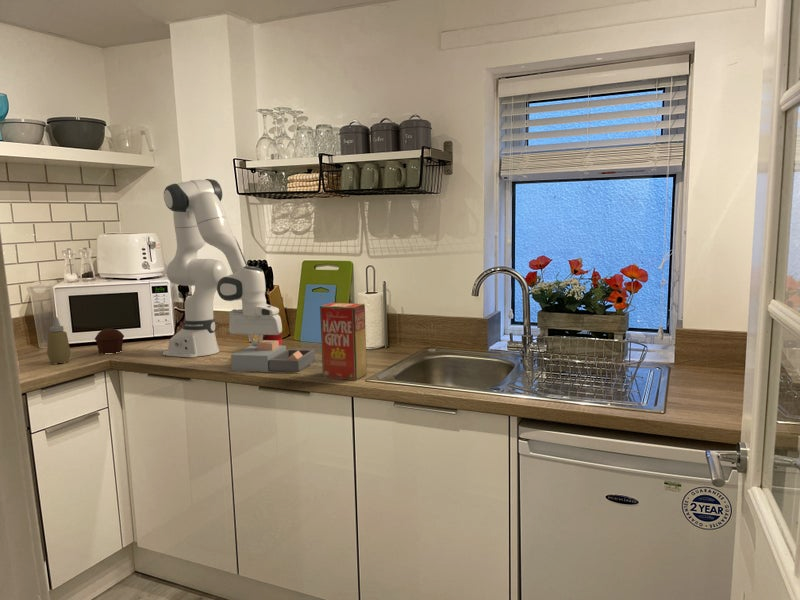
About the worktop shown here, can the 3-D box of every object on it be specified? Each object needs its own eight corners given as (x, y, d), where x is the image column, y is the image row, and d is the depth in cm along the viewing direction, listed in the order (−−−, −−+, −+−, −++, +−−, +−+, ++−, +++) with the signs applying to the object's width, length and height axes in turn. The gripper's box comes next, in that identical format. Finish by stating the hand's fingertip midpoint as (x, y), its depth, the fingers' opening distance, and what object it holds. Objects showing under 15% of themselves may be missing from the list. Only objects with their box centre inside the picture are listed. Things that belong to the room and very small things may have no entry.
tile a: (292, 353, 219) (297, 359, 219) (298, 350, 225) (302, 355, 225) (281, 364, 220) (285, 369, 220) (286, 360, 226) (291, 365, 226)
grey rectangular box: (231, 371, 223) (230, 354, 222) (252, 359, 240) (251, 344, 240) (268, 372, 220) (267, 355, 219) (286, 360, 238) (285, 345, 237)
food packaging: (321, 377, 211) (318, 305, 208) (334, 371, 220) (331, 302, 216) (356, 380, 206) (354, 307, 203) (368, 374, 215) (366, 303, 211)
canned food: (286, 349, 260) (284, 323, 258) (274, 353, 252) (273, 326, 251) (271, 347, 263) (270, 322, 261) (259, 351, 256) (258, 325, 254)
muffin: (92, 352, 260) (90, 329, 259) (119, 348, 268) (117, 325, 266) (101, 356, 252) (99, 332, 250) (129, 352, 259) (127, 329, 258)
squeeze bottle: (45, 363, 241) (40, 317, 239) (67, 359, 247) (63, 315, 245) (52, 366, 236) (47, 319, 234) (74, 362, 242) (70, 317, 240)
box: (269, 372, 220) (268, 359, 219) (287, 360, 238) (287, 349, 237) (298, 373, 218) (298, 360, 217) (315, 361, 236) (314, 350, 235)
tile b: (257, 349, 230) (257, 343, 229) (264, 346, 235) (263, 340, 235) (272, 350, 228) (272, 343, 228) (278, 347, 234) (278, 340, 234)
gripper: (224, 310, 229) (226, 346, 231) (276, 311, 225) (277, 348, 227) (232, 308, 235) (234, 343, 237) (283, 308, 231) (284, 345, 233)
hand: (256, 345), depth 232 cm, fingers closed
